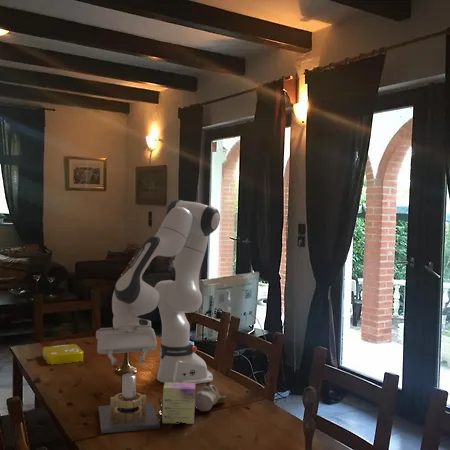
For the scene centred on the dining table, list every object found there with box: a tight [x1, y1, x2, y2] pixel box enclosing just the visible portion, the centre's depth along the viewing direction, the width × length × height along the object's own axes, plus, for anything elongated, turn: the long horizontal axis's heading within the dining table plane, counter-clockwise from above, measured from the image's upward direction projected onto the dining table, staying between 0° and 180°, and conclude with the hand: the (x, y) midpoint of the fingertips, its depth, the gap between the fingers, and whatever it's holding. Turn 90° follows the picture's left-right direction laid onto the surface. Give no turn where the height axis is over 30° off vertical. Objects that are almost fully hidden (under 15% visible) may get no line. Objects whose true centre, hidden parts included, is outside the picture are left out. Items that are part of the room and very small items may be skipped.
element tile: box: [42, 343, 84, 366], centre depth 236 cm, size 15×15×5 cm
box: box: [161, 382, 196, 425], centre depth 175 cm, size 10×6×12 cm, turn 92°
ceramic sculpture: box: [195, 382, 228, 412], centre depth 188 cm, size 11×9×15 cm
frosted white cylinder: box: [121, 372, 137, 413], centre depth 174 cm, size 5×5×13 cm
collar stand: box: [98, 391, 161, 434], centre depth 174 cm, size 18×18×8 cm
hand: (128, 362), depth 180 cm, fingers open, 8 cm apart
